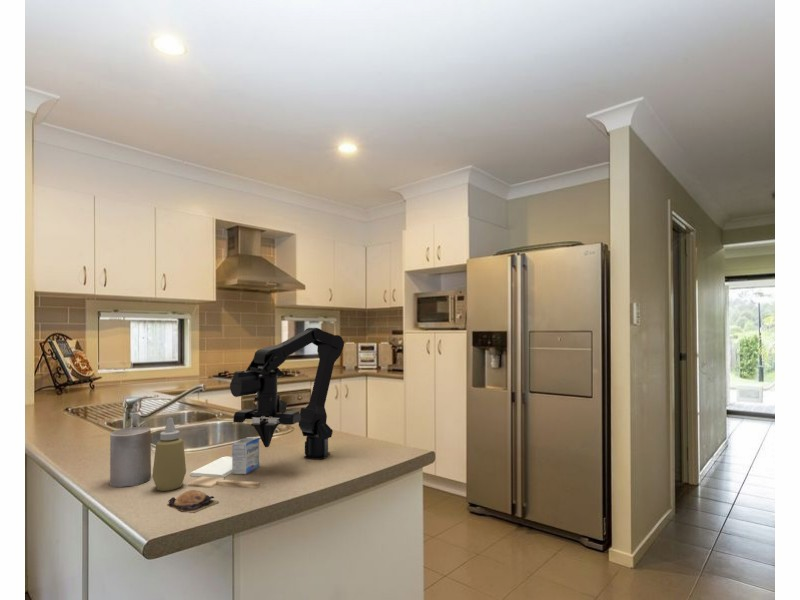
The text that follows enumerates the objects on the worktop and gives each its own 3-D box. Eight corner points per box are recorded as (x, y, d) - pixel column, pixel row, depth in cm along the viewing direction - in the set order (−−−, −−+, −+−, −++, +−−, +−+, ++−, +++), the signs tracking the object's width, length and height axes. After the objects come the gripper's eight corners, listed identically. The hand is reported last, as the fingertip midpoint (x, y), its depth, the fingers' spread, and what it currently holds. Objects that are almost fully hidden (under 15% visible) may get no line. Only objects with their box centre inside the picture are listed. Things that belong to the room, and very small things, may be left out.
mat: (252, 461, 145) (252, 458, 145) (221, 478, 130) (222, 474, 130) (224, 459, 148) (224, 456, 148) (190, 476, 132) (190, 472, 132)
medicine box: (245, 475, 133) (246, 444, 133) (231, 474, 134) (231, 443, 134) (259, 466, 140) (259, 437, 141) (246, 465, 141) (246, 436, 142)
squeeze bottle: (163, 495, 118) (164, 422, 118) (145, 489, 122) (146, 419, 123) (192, 485, 124) (193, 416, 125) (174, 480, 129) (175, 413, 129)
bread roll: (221, 504, 113) (222, 489, 113) (190, 517, 106) (190, 500, 106) (194, 496, 118) (194, 481, 119) (162, 507, 111) (162, 491, 111)
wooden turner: (264, 483, 126) (264, 479, 126) (252, 491, 120) (252, 487, 120) (202, 478, 130) (202, 474, 130) (187, 486, 124) (187, 482, 124)
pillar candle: (137, 473, 135) (137, 420, 135) (158, 478, 130) (158, 424, 130) (102, 484, 126) (102, 428, 127) (122, 490, 122) (122, 431, 122)
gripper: (308, 389, 142) (308, 441, 141) (252, 387, 146) (252, 438, 146) (292, 395, 131) (292, 451, 131) (232, 393, 135) (231, 448, 135)
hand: (267, 446), depth 136 cm, fingers closed
